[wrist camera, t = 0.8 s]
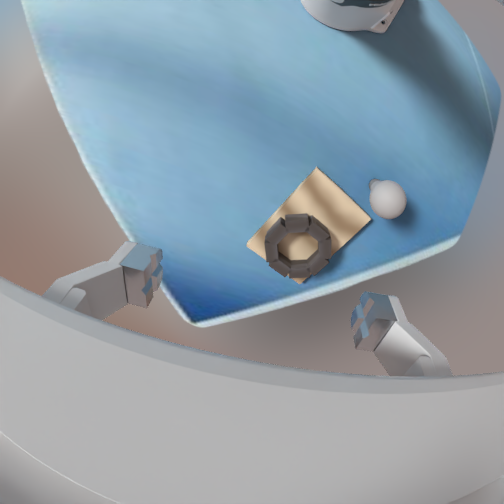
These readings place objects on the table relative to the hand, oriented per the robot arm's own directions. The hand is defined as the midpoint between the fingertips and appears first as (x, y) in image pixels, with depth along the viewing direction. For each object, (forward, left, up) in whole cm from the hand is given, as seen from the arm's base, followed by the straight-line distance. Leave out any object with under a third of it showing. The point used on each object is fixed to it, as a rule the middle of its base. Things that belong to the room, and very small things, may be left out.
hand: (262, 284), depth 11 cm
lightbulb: (-5, +18, -39) cm, 44 cm away
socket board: (+10, +15, -39) cm, 43 cm away
